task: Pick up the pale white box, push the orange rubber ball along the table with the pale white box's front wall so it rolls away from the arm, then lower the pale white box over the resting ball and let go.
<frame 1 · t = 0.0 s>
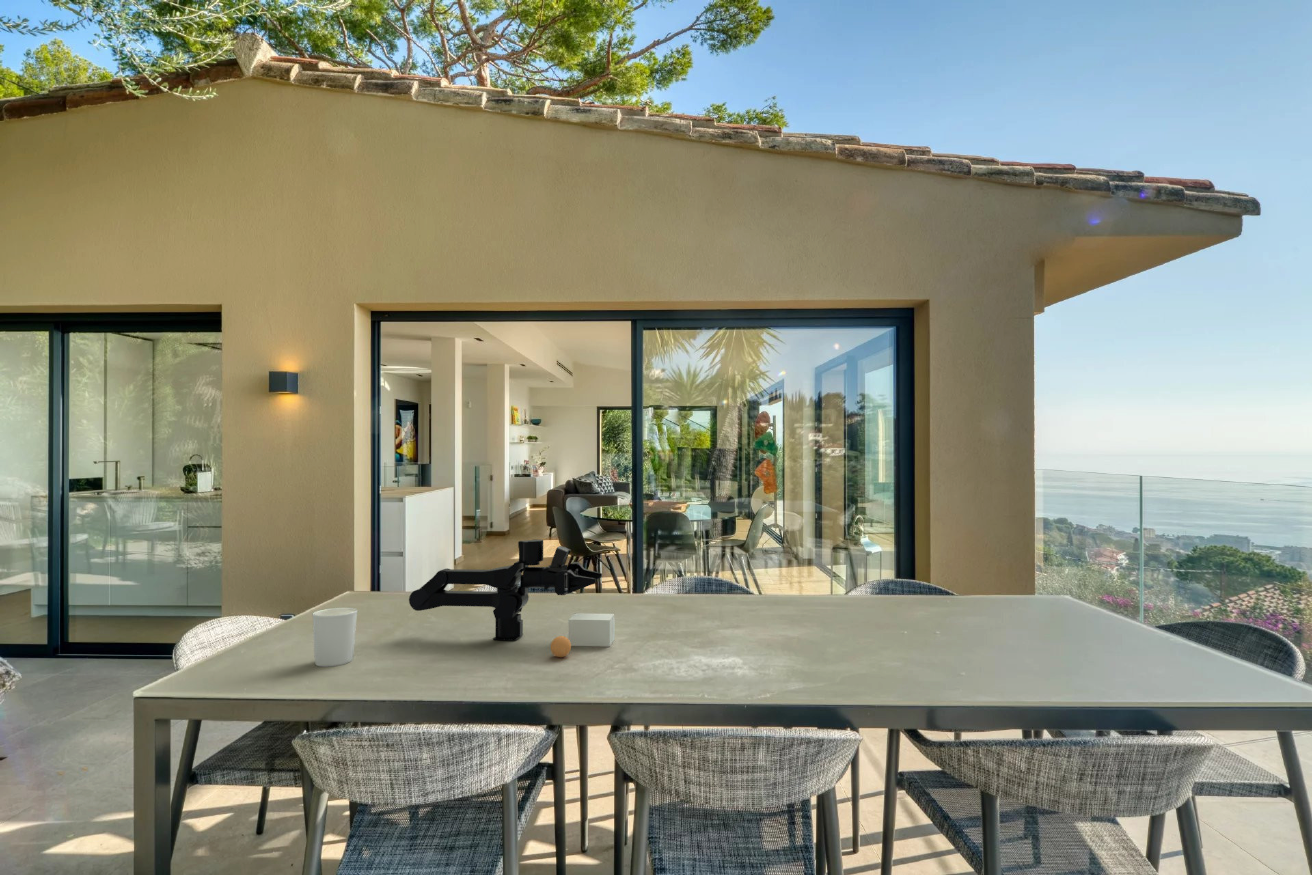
hand: (598, 578, 177), 17 cm above the table, tool horizontal, fingers open, 9 cm apart
pale white box: (591, 642, 173), on the table
candle holder: (334, 662, 157), on the table
ball: (560, 646, 160), on the table
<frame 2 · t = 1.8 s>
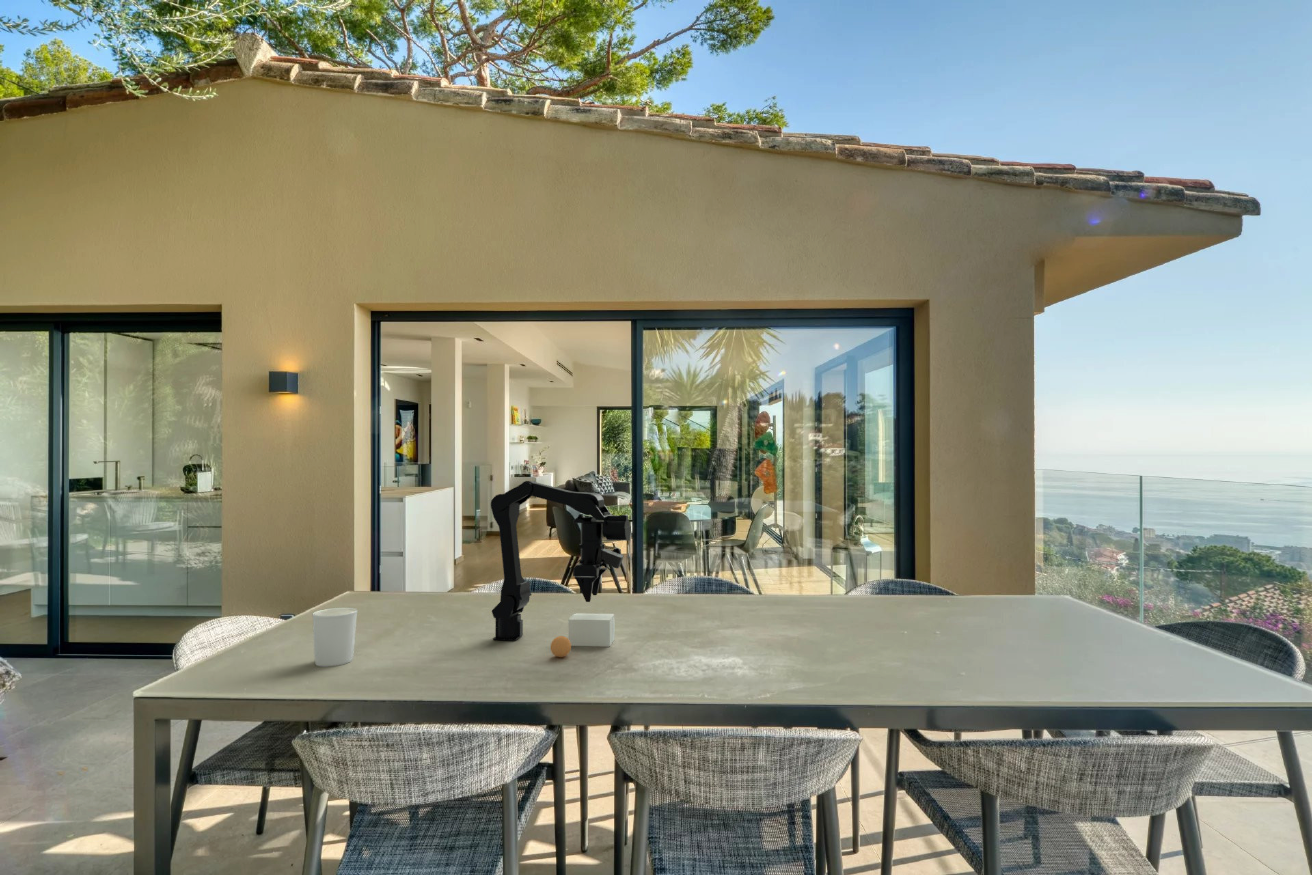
hand: (591, 598, 173), 12 cm above the table, tool pointing down, fingers open, 9 cm apart
nothing on the table moved.
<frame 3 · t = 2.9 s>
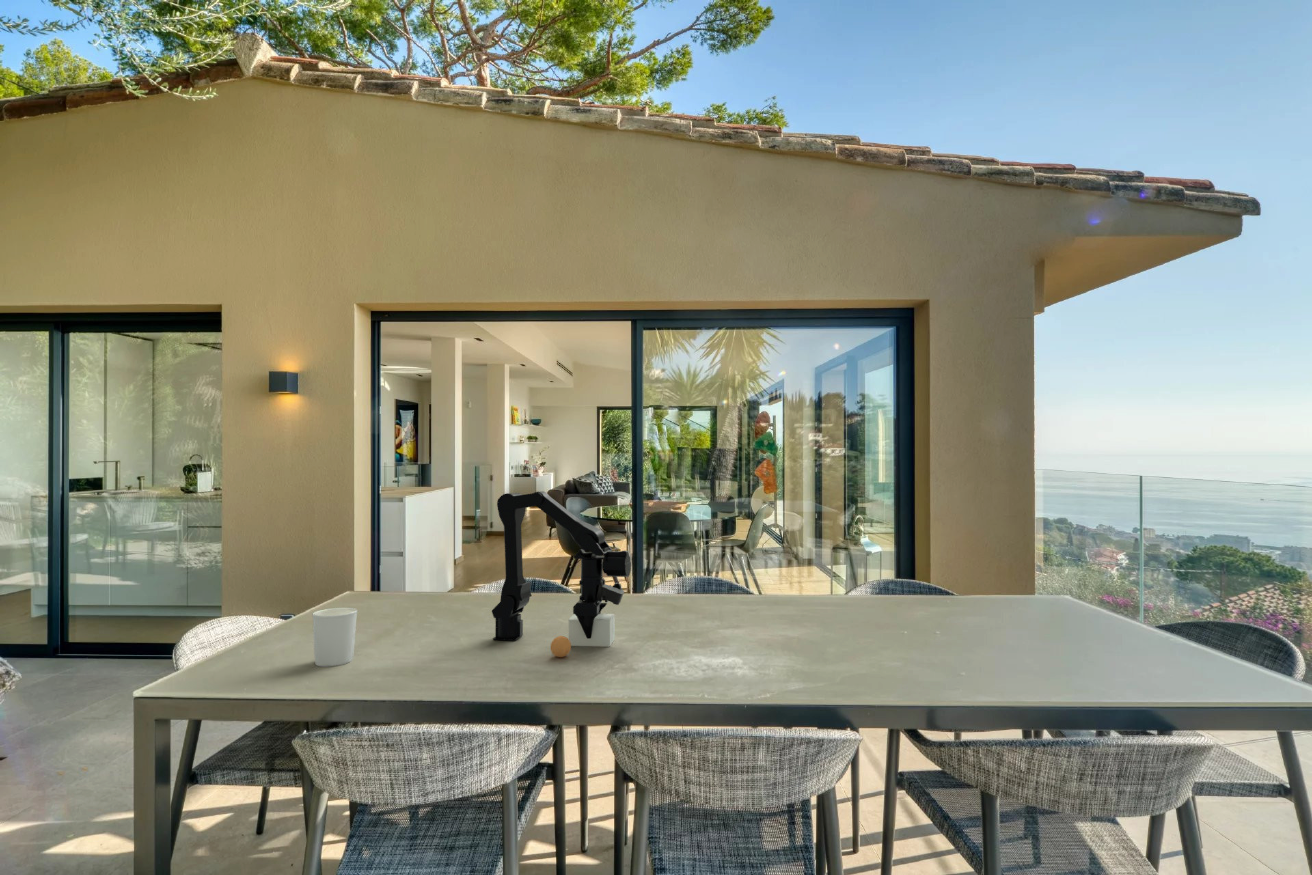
hand: (591, 634, 173), 2 cm above the table, tool pointing down, fingers closed on pale white box, 7 cm apart
pale white box: (591, 642, 173), on the table, touching gripper
everything else where it was.
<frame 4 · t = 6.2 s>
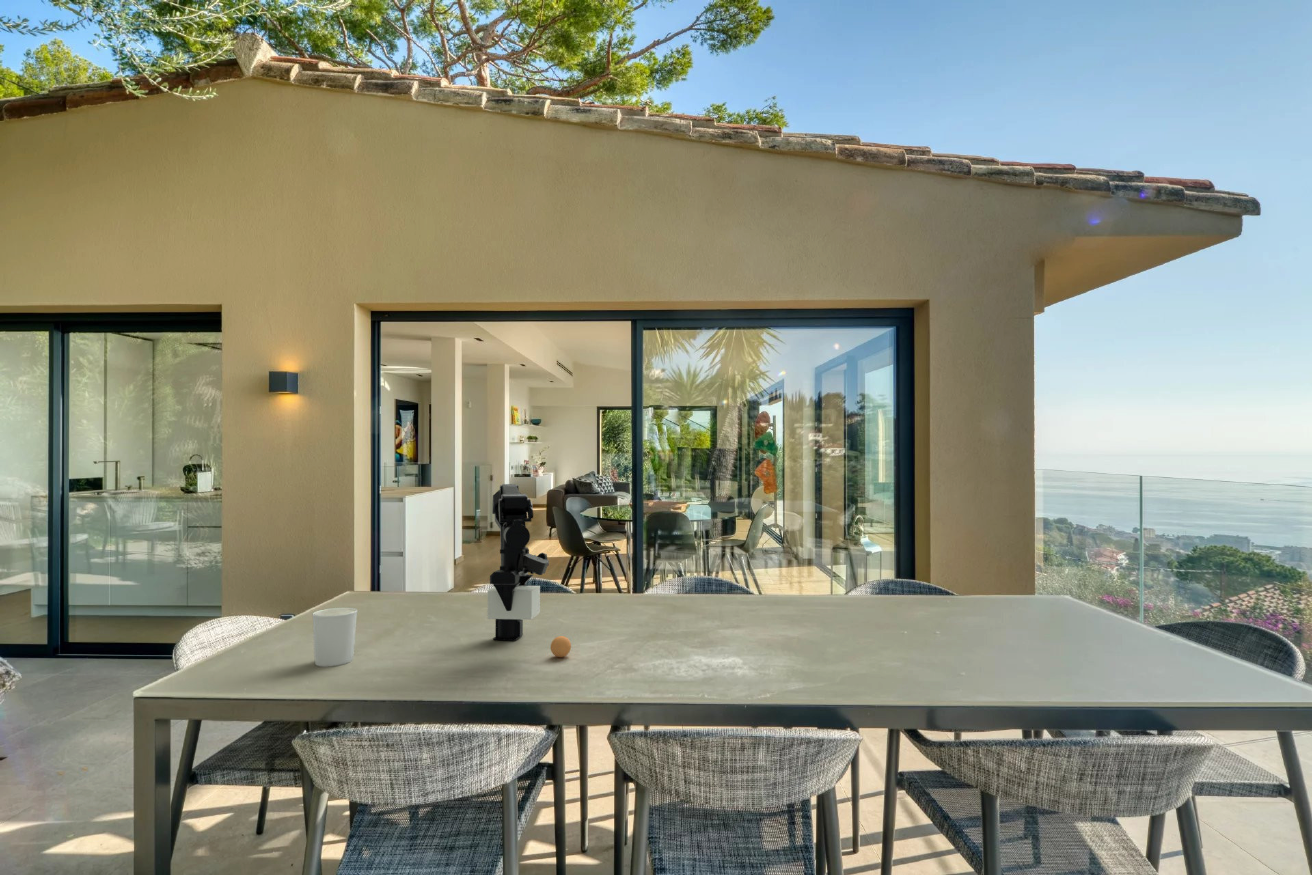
hand: (513, 607, 161), 12 cm above the table, tool pointing down, fingers closed on pale white box, 7 cm apart
pale white box: (514, 615, 161), point 10 cm above the table, touching gripper
everything else where it was.
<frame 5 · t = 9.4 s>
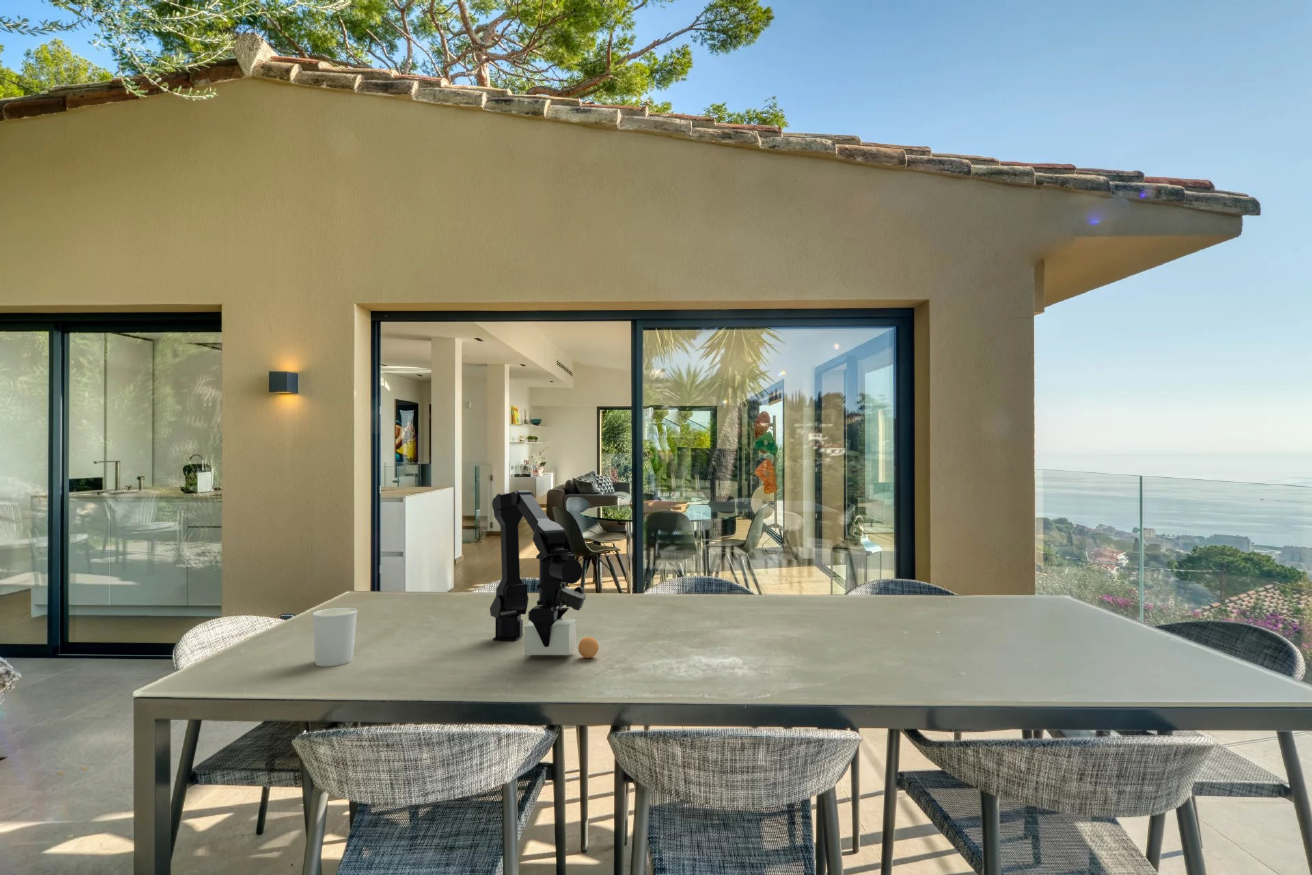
hand: (550, 642, 160), 3 cm above the table, tool pointing down, fingers closed on pale white box, 7 cm apart
pale white box: (550, 650, 160), point 1 cm above the table, touching gripper
ball: (588, 647, 159), on the table
everything else where it was.
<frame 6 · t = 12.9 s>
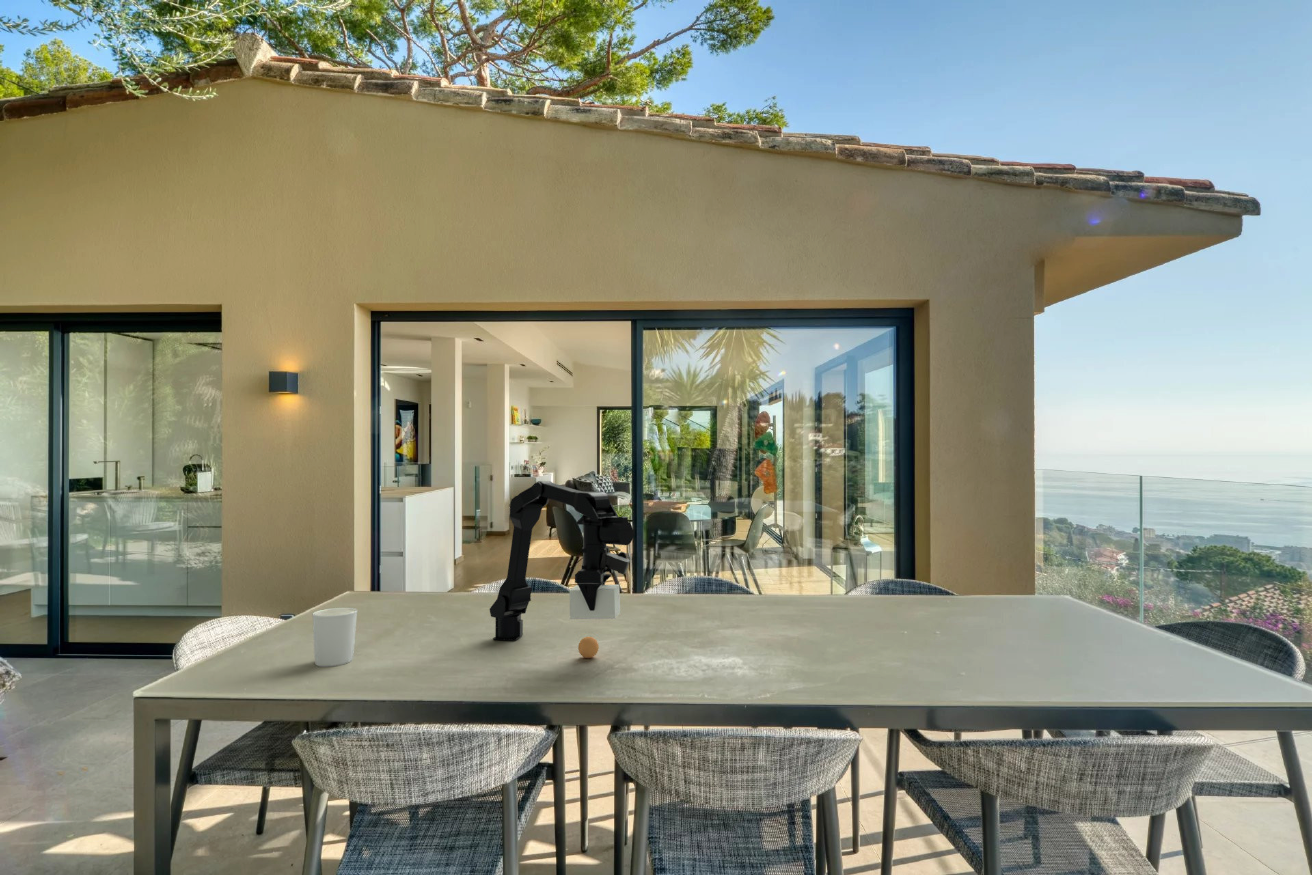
hand: (595, 607, 159), 12 cm above the table, tool pointing down, fingers closed on pale white box, 7 cm apart
pale white box: (595, 615, 159), point 10 cm above the table, touching gripper
everything else where it was.
when the fingers open (2 cm above the table, at t = 16.5 s): pale white box stays where it is, on the table.
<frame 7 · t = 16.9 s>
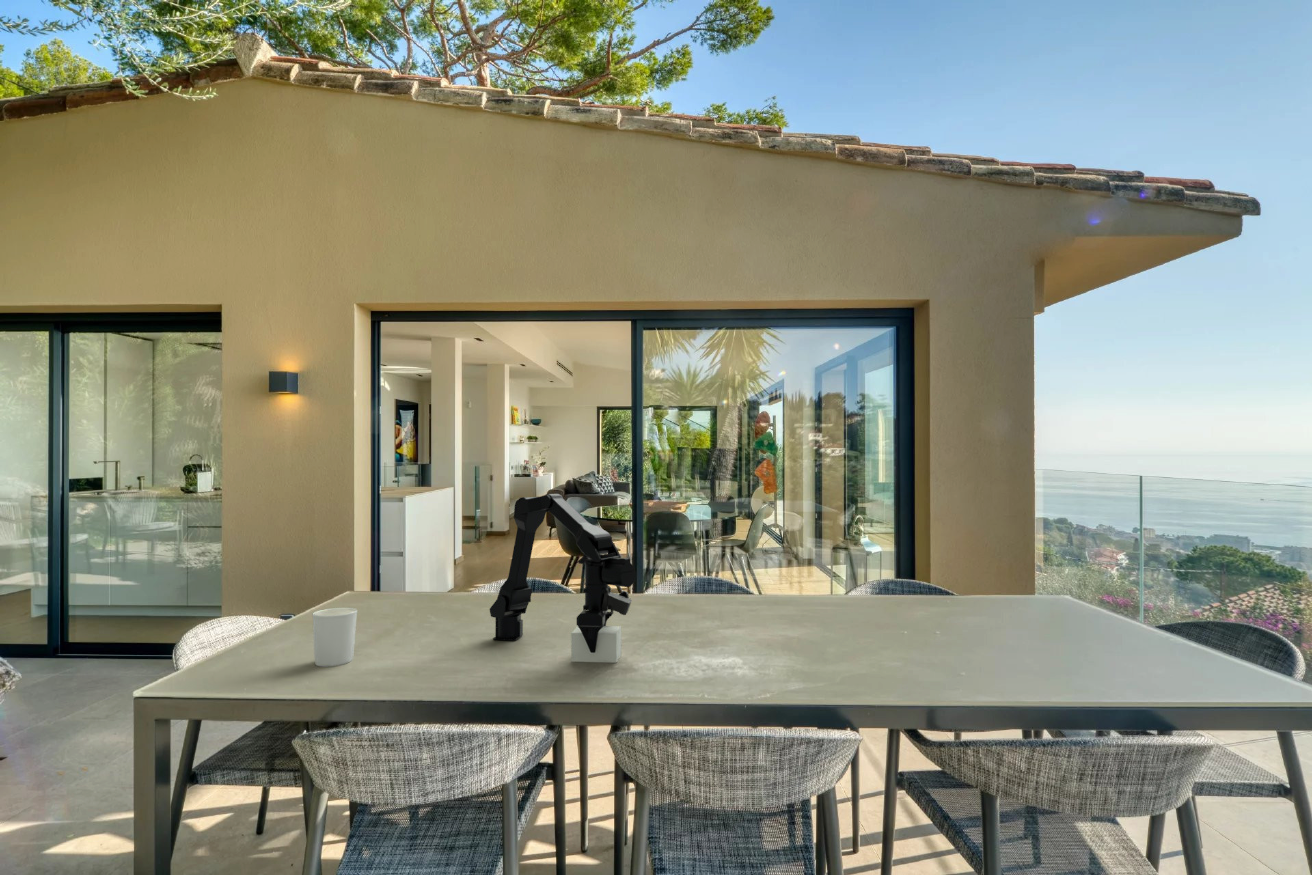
hand: (596, 647, 159), 2 cm above the table, tool pointing down, fingers open, 9 cm apart
pale white box: (596, 657, 159), on the table
everything else where it was.
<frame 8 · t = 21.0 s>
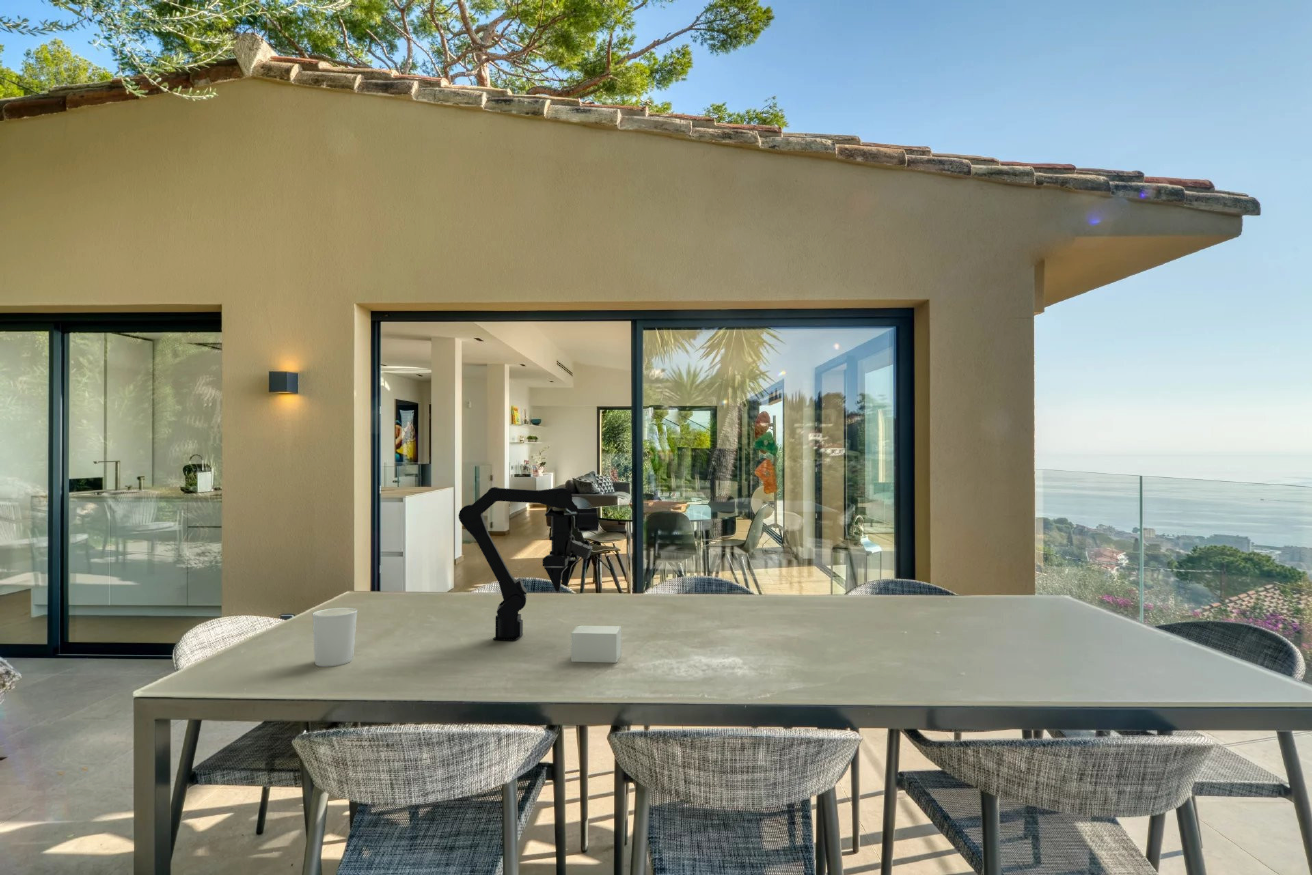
hand: (561, 588, 181), 13 cm above the table, tool pointing down, fingers open, 9 cm apart
nothing on the table moved.
at the end: ball 2.0 cm from the pale white box (horizontally); pale white box on the table; ball moved 7.0 cm from its start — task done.
